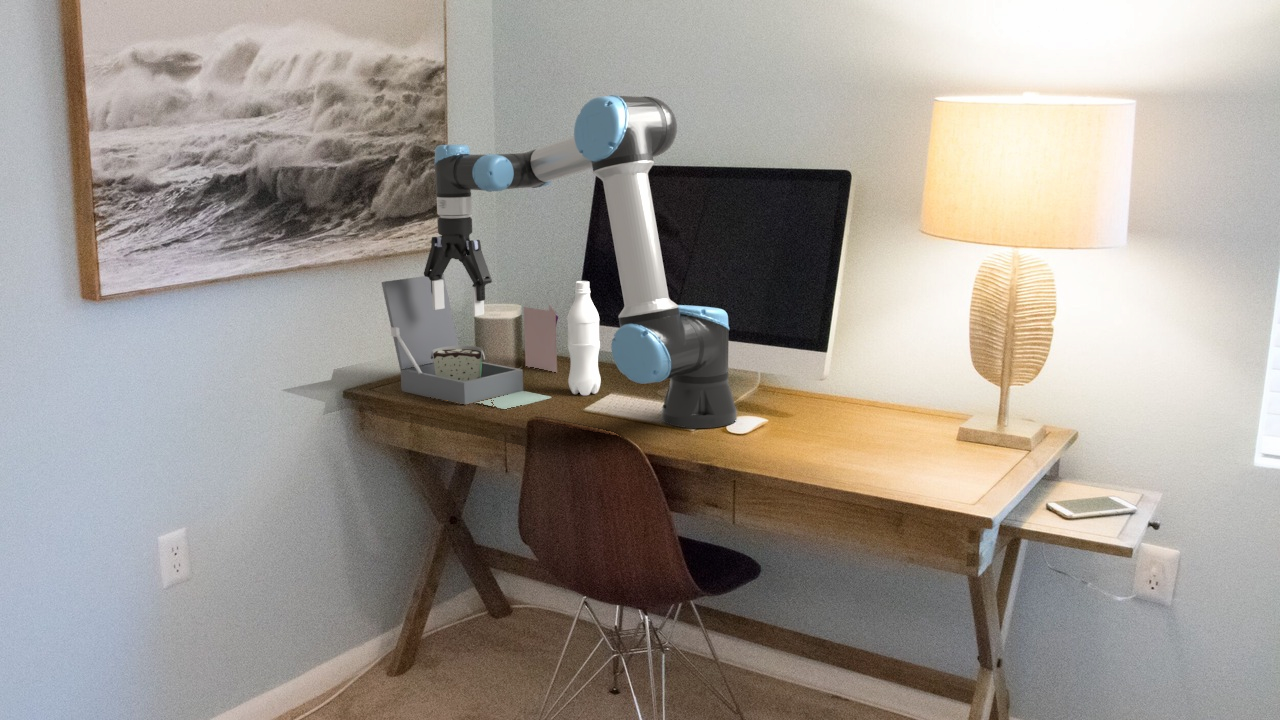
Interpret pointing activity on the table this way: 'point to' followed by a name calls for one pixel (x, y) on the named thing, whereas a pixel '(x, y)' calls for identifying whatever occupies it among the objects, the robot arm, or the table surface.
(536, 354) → the greeting card
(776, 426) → the table surface
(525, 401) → the mat
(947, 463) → the table surface
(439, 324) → the case
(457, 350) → the food container
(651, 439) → the table surface
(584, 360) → the water bottle
